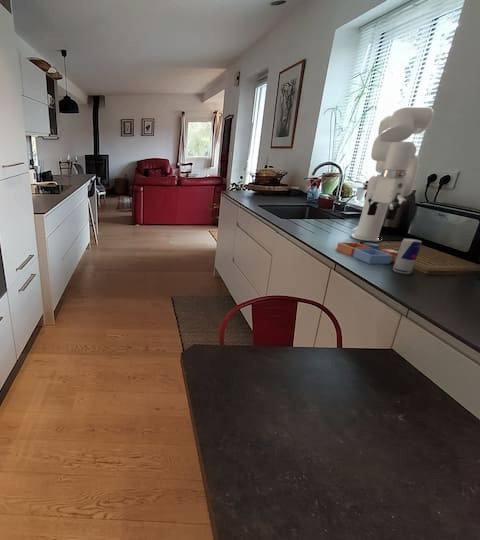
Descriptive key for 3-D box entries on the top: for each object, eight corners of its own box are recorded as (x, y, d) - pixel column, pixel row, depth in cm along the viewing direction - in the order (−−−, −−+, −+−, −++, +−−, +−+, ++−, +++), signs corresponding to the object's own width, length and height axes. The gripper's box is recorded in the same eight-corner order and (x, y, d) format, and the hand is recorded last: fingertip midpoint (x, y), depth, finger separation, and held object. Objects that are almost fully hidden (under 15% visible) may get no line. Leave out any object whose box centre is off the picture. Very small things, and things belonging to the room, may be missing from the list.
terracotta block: (378, 258, 134) (381, 249, 133) (388, 258, 134) (391, 249, 133) (386, 261, 130) (390, 252, 129) (396, 261, 131) (399, 252, 129)
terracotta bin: (336, 249, 145) (338, 242, 144) (355, 249, 146) (357, 242, 144) (350, 255, 137) (352, 248, 136) (370, 255, 137) (372, 248, 136)
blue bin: (352, 256, 136) (354, 248, 135) (372, 256, 136) (374, 248, 135) (368, 263, 127) (371, 255, 126) (390, 263, 128) (392, 255, 127)
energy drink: (411, 275, 116) (423, 243, 112) (392, 272, 119) (403, 240, 115) (410, 271, 120) (421, 240, 116) (392, 268, 123) (402, 237, 119)
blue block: (360, 251, 143) (363, 242, 142) (369, 251, 144) (372, 242, 142) (367, 254, 140) (370, 245, 138) (376, 254, 140) (379, 245, 139)
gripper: (421, 176, 122) (406, 221, 128) (383, 173, 138) (372, 213, 144) (403, 175, 122) (388, 221, 127) (367, 173, 138) (356, 213, 144)
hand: (380, 217), depth 136 cm, fingers open, 9 cm apart
